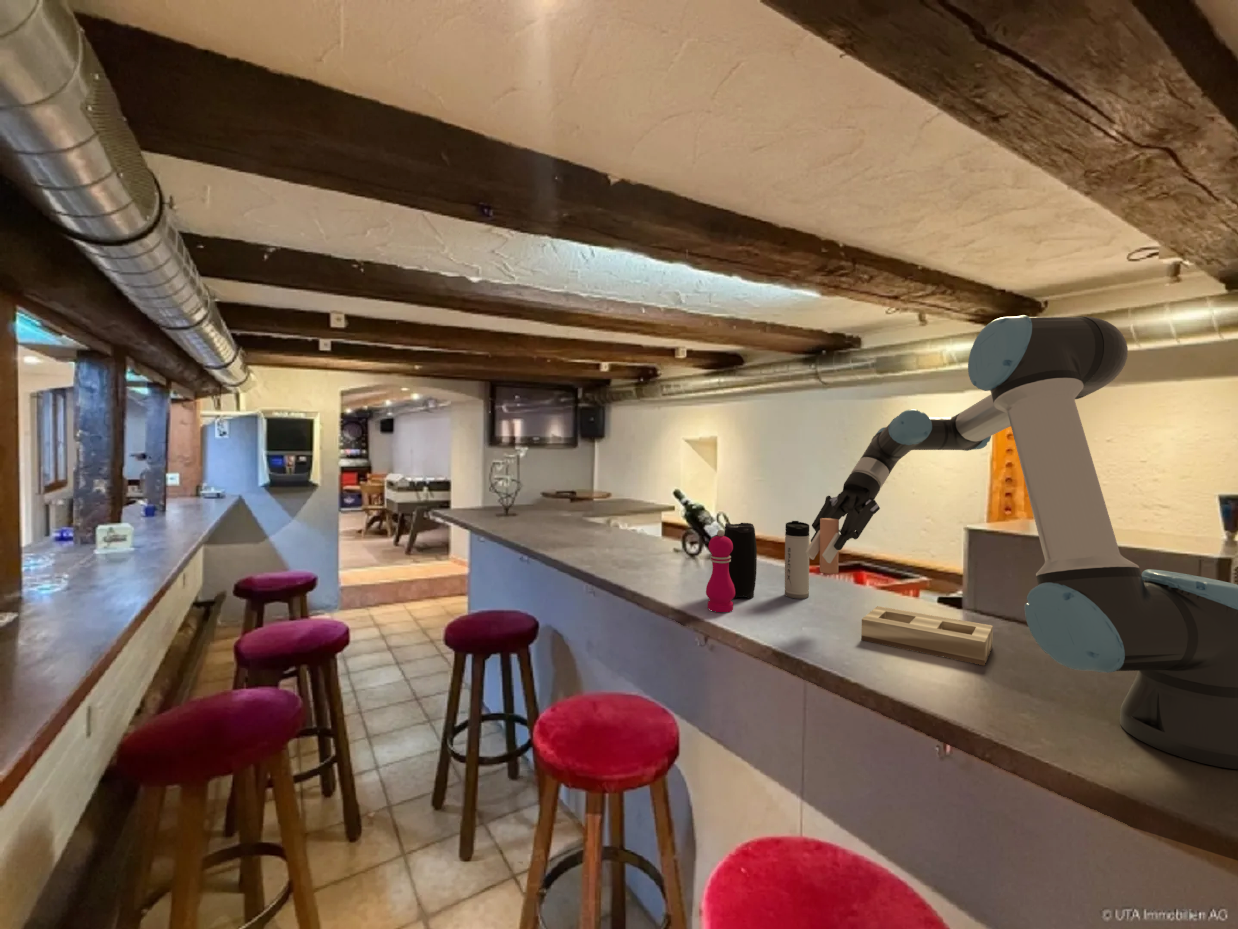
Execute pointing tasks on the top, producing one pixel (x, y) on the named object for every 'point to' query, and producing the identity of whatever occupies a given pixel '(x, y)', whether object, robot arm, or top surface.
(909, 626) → the socket block
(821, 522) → the pin
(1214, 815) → the top surface
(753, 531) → the portable speaker
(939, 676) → the top surface
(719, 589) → the pepper mill
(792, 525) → the travel mug
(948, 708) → the top surface
